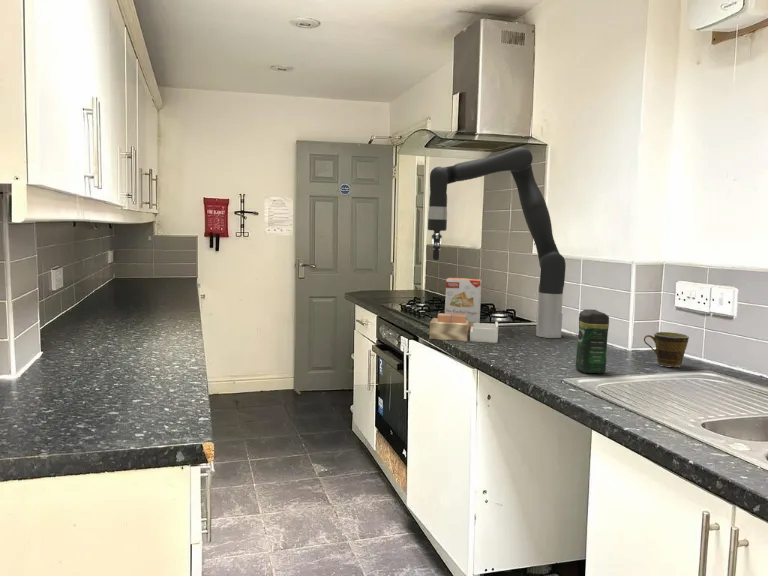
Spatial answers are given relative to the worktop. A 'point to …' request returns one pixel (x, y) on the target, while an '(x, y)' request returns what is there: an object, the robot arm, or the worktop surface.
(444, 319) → the tile
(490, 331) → the bin
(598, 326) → the coffee jar
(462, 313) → the cracker box
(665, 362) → the ceramic cup
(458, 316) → the tile
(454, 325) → the platform
